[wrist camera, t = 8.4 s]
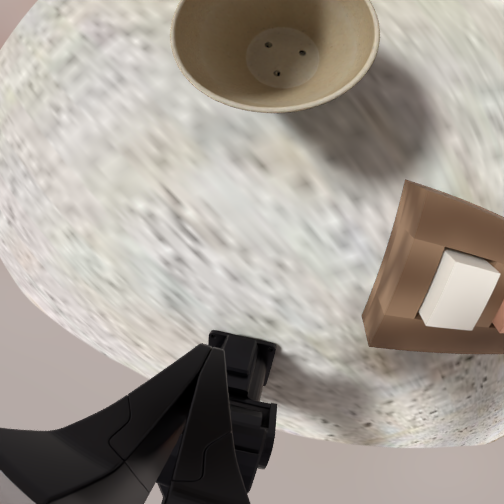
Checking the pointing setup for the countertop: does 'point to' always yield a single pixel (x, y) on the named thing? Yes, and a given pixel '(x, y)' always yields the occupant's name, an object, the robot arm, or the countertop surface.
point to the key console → (423, 269)
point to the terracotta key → (499, 319)
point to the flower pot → (274, 50)
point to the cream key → (458, 291)
